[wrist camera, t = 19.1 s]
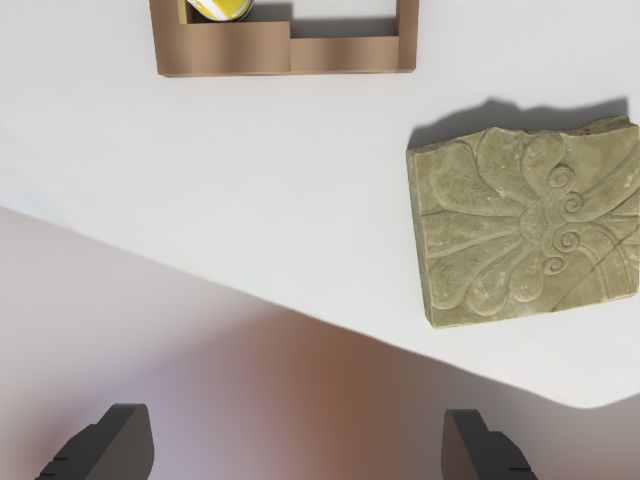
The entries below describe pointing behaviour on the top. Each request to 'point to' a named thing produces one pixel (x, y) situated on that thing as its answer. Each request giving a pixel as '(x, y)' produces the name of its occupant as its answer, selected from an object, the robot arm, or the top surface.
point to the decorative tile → (526, 221)
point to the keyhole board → (274, 46)
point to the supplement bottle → (223, 9)
